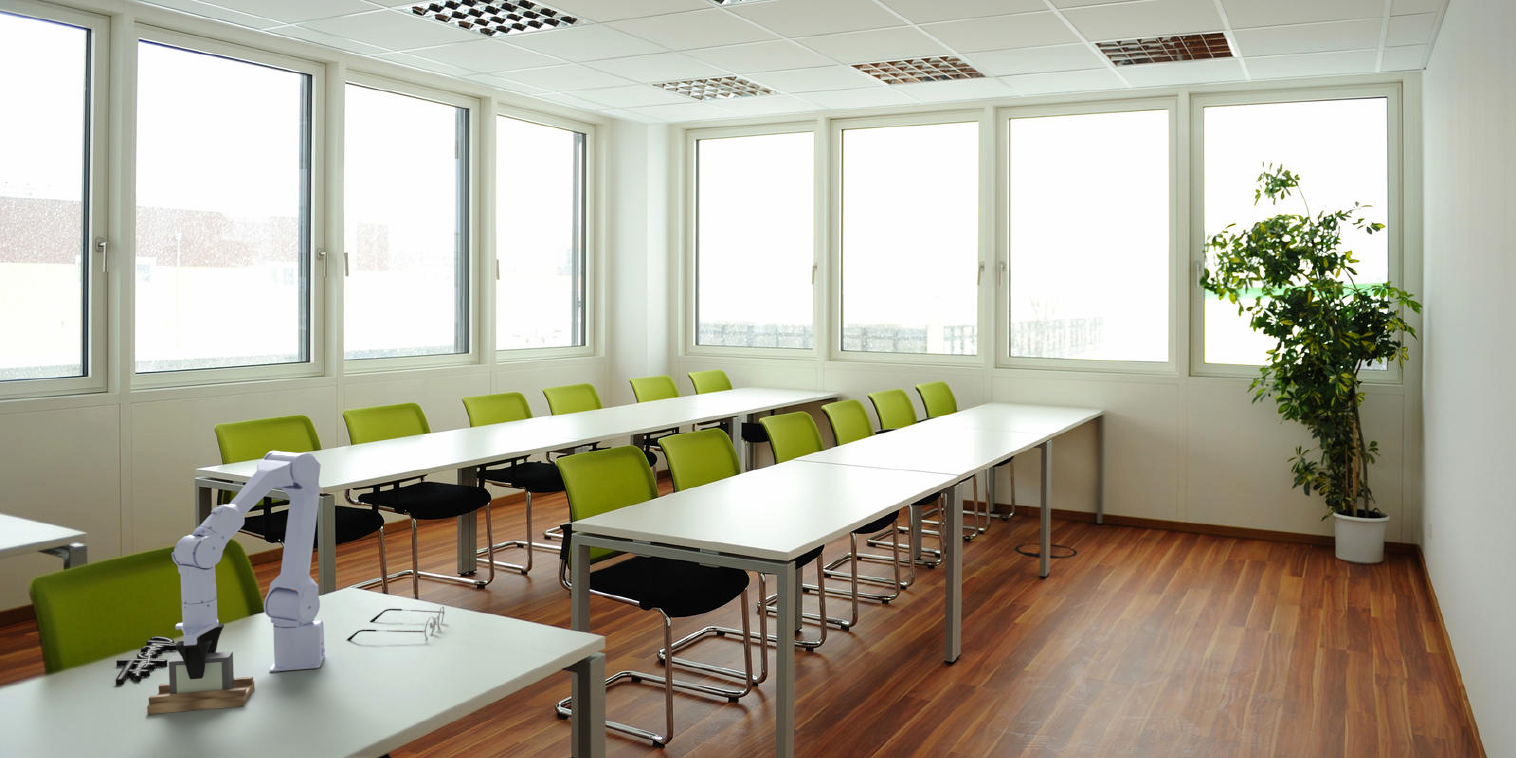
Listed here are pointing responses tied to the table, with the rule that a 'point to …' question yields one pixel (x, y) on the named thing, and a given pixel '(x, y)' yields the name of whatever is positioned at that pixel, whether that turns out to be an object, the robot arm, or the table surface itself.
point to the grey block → (214, 676)
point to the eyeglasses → (408, 630)
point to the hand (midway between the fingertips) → (201, 671)
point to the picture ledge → (201, 698)
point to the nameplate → (145, 659)
